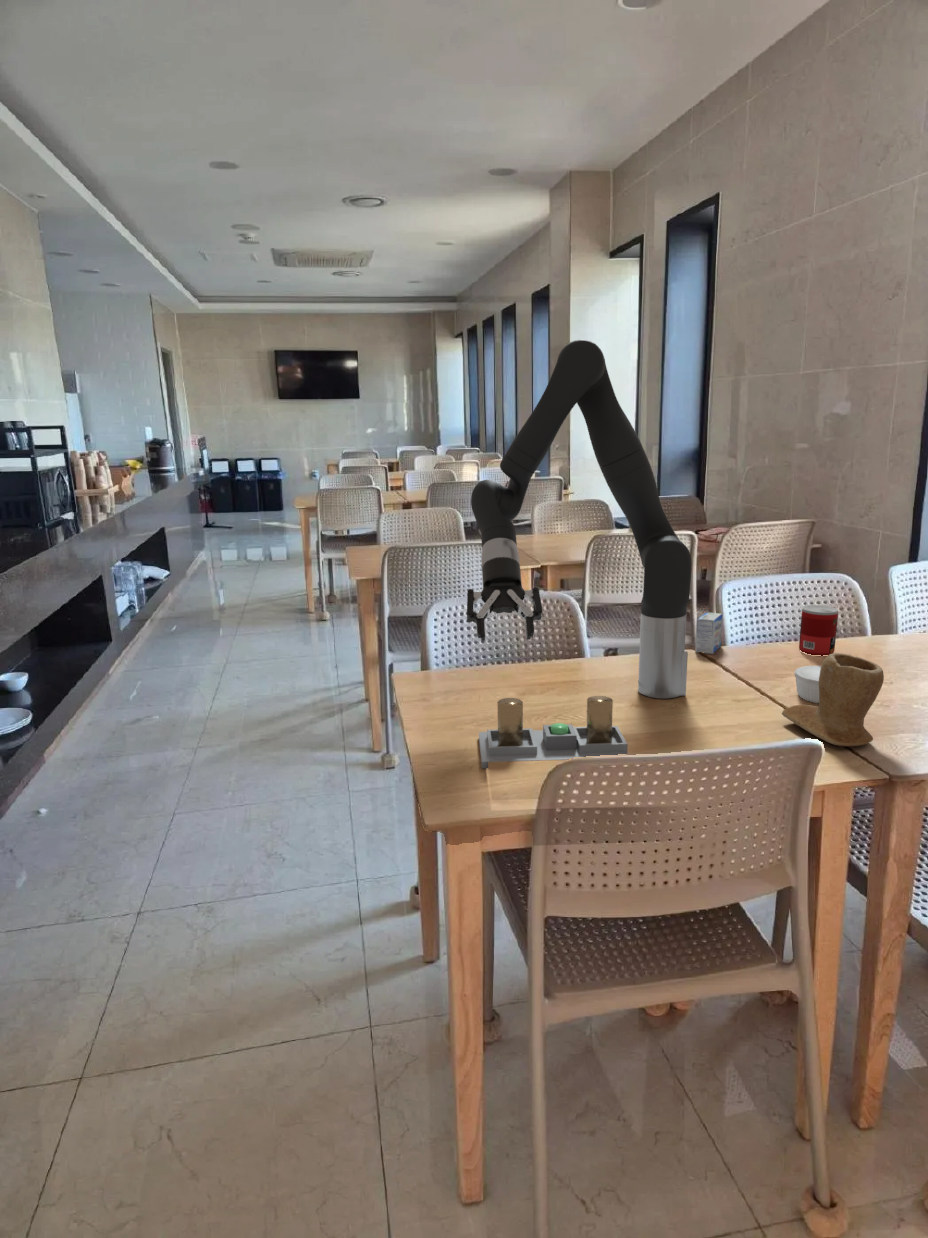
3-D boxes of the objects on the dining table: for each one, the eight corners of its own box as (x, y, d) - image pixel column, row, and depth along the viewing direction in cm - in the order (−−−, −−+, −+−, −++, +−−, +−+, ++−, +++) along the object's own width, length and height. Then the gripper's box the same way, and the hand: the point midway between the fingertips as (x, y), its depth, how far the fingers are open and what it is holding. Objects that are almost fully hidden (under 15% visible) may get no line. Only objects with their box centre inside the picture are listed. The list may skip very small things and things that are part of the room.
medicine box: (712, 654, 191) (714, 620, 189) (694, 652, 193) (696, 618, 191) (721, 646, 197) (723, 613, 195) (703, 644, 199) (705, 611, 197)
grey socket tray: (614, 734, 144) (614, 714, 143) (630, 764, 132) (630, 743, 131) (478, 738, 144) (478, 718, 143) (481, 768, 131) (481, 747, 130)
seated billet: (608, 737, 140) (609, 695, 138) (613, 747, 135) (615, 704, 133) (584, 738, 140) (585, 696, 138) (588, 748, 135) (589, 704, 133)
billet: (521, 739, 140) (521, 697, 138) (524, 749, 135) (524, 706, 133) (497, 740, 139) (496, 698, 137) (499, 750, 135) (498, 707, 133)
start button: (566, 735, 139) (566, 723, 138) (569, 742, 136) (569, 729, 135) (549, 736, 139) (549, 723, 138) (552, 742, 136) (552, 730, 135)
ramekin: (860, 696, 161) (863, 672, 159) (841, 711, 153) (844, 686, 151) (805, 685, 168) (807, 661, 167) (784, 699, 160) (786, 674, 159)
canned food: (837, 657, 186) (842, 612, 183) (802, 656, 188) (806, 612, 185) (829, 648, 193) (834, 605, 191) (795, 647, 195) (799, 604, 192)
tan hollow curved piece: (891, 747, 136) (901, 665, 132) (831, 754, 133) (839, 671, 130) (834, 716, 150) (841, 641, 147) (779, 722, 148) (785, 646, 144)
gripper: (464, 556, 150) (468, 629, 142) (538, 554, 150) (546, 627, 142) (464, 578, 156) (467, 649, 148) (535, 576, 157) (542, 646, 148)
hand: (506, 638), depth 145 cm, fingers open, 8 cm apart
